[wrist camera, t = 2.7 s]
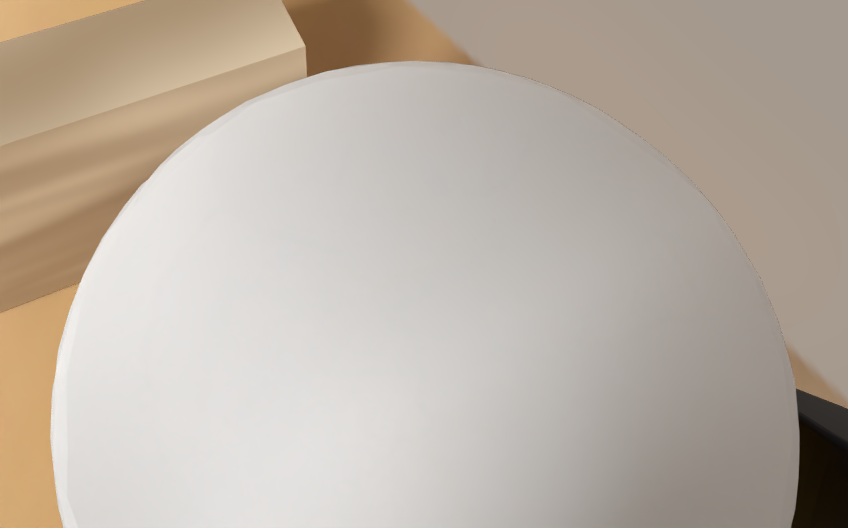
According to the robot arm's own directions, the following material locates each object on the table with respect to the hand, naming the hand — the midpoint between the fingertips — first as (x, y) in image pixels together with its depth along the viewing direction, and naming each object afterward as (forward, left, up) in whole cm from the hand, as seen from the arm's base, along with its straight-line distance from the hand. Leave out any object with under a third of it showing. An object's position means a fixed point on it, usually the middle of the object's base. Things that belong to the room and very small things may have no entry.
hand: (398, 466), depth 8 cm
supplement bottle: (0, 0, -9) cm, 9 cm away
